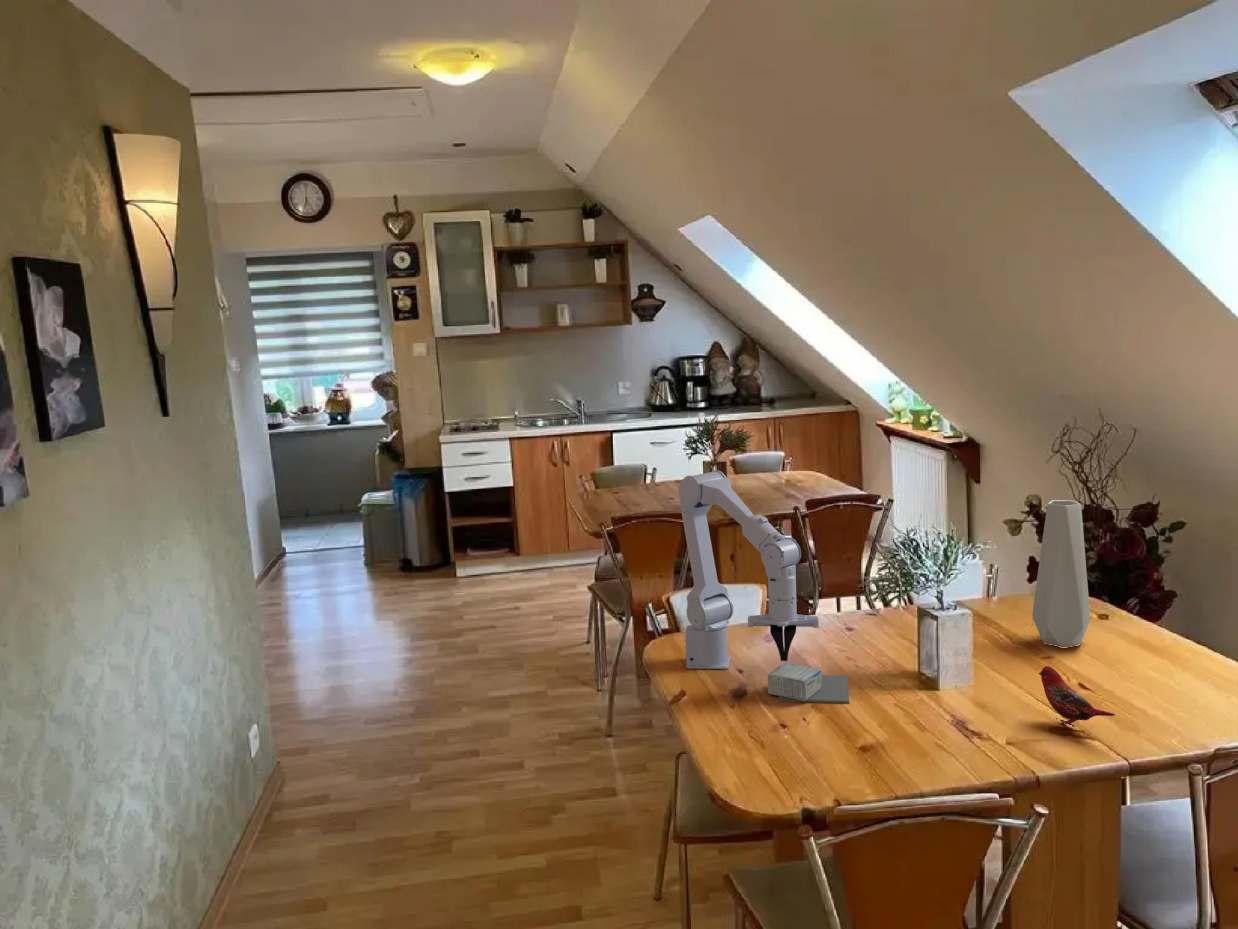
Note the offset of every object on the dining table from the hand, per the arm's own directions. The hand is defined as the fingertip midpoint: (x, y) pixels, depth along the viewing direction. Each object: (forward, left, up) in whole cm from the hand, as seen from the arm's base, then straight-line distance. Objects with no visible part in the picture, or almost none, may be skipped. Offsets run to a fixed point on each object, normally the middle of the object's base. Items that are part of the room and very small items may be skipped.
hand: (784, 659), depth 202 cm
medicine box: (-2, -1, -4) cm, 4 cm away
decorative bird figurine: (+53, -16, -7) cm, 56 cm away
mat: (+6, 0, -6) cm, 9 cm away
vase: (+61, +32, -7) cm, 69 cm away
